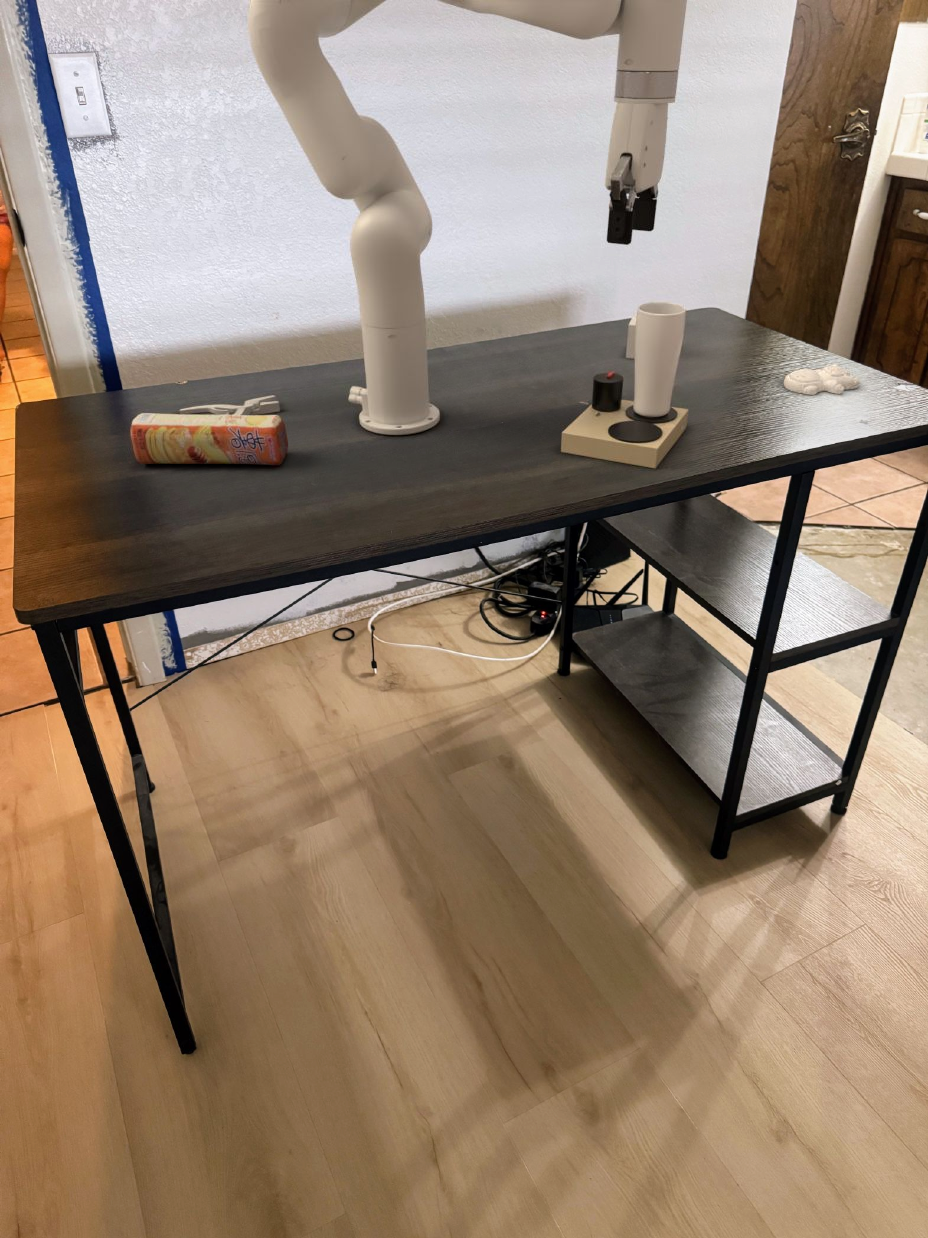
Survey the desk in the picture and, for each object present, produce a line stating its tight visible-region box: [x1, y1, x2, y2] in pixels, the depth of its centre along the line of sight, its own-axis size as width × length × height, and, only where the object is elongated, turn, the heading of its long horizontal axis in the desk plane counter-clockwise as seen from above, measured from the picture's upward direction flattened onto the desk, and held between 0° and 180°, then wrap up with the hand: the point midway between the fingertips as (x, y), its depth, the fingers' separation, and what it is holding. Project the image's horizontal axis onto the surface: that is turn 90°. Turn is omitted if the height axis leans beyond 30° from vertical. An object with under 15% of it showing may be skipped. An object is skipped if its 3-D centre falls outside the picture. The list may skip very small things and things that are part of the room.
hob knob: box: [591, 370, 624, 412], centre depth 131 cm, size 4×4×5 cm
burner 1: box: [625, 405, 678, 424], centre depth 130 cm, size 8×8×1 cm
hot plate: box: [560, 399, 689, 469], centre depth 129 cm, size 16×16×3 cm
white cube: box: [625, 315, 637, 360], centre depth 161 cm, size 6×6×6 cm
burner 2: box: [608, 421, 663, 443], centre depth 124 cm, size 8×8×1 cm
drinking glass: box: [633, 301, 687, 417], centre depth 125 cm, size 7×7×15 cm
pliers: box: [179, 395, 281, 415], centre depth 141 cm, size 10×2×15 cm
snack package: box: [130, 412, 289, 466], centre depth 125 cm, size 21×7×7 cm, turn 87°
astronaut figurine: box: [783, 363, 861, 396], centre depth 146 cm, size 9×12×3 cm
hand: (630, 236), depth 118 cm, fingers open, 9 cm apart
